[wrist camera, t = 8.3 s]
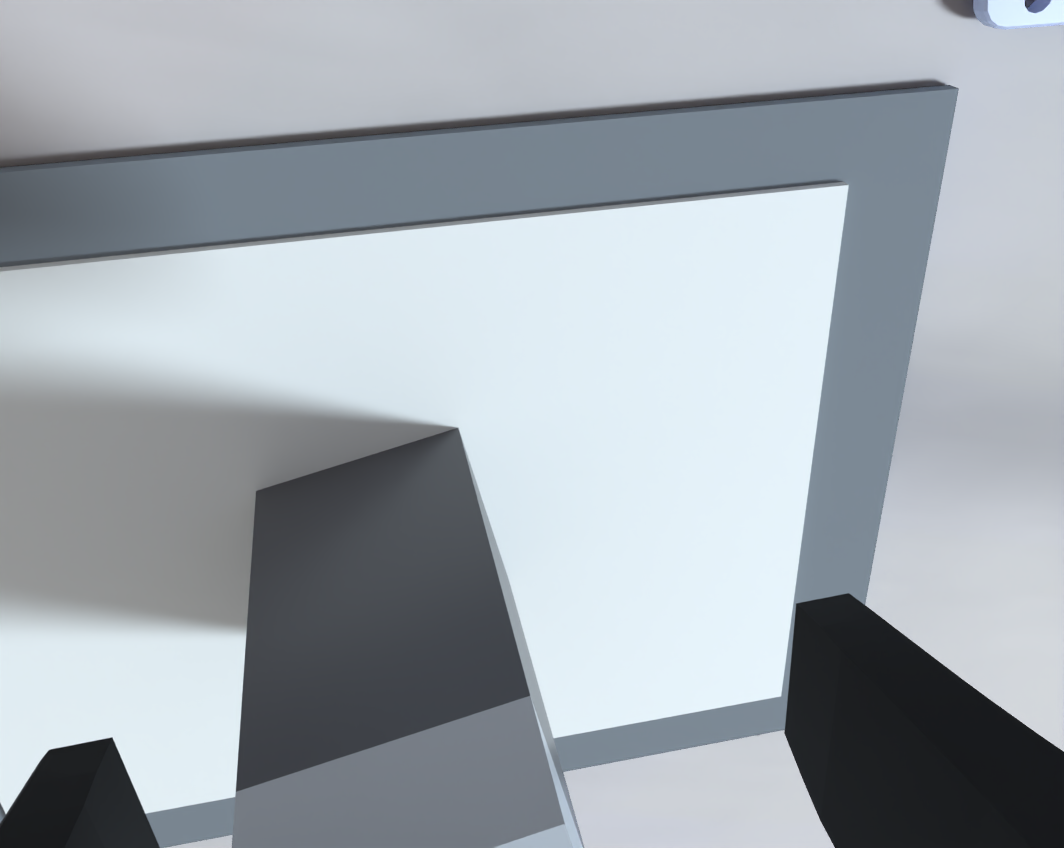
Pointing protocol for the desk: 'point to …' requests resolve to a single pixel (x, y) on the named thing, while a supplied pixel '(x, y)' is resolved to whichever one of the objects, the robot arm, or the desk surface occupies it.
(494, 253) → the desk mat
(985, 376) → the desk surface
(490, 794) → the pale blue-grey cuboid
